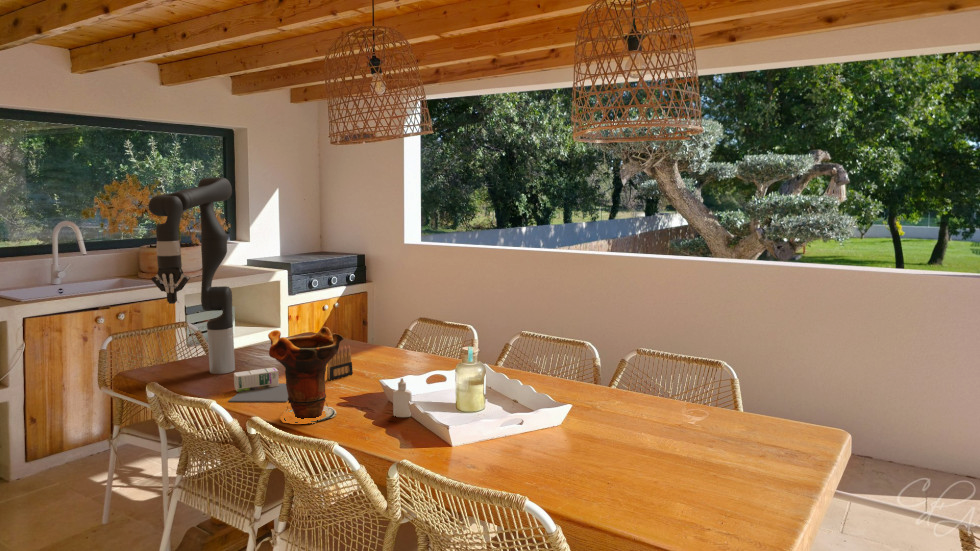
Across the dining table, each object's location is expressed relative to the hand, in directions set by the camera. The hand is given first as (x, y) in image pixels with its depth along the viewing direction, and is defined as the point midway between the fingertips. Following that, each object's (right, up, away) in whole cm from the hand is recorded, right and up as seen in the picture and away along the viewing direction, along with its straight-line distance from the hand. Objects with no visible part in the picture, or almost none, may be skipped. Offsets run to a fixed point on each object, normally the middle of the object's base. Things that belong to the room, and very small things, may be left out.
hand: (172, 303), depth 236 cm
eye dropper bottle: (+84, -34, -24) cm, 94 cm away
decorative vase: (+54, -34, -24) cm, 68 cm away
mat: (+33, -31, -1) cm, 46 cm away
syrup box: (+21, -28, +1) cm, 35 cm away
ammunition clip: (+54, -29, +19) cm, 64 cm away
